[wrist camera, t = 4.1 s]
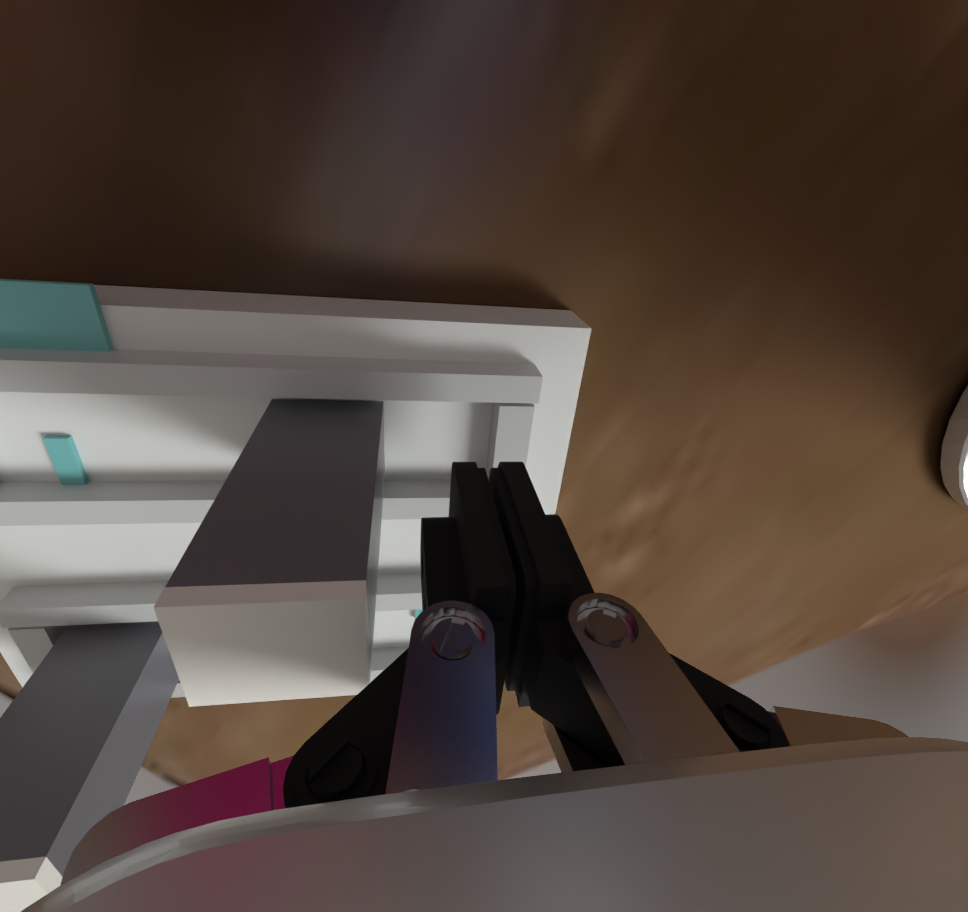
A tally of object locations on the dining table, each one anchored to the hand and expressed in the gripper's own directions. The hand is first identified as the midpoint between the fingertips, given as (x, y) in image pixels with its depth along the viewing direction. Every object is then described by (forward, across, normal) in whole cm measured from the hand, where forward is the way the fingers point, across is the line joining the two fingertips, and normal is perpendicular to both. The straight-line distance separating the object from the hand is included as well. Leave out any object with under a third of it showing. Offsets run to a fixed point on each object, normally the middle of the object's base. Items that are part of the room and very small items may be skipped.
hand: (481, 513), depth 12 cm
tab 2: (+4, +4, 0) cm, 5 cm away
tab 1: (+4, +11, +8) cm, 14 cm away
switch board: (+6, +6, +4) cm, 9 cm away
